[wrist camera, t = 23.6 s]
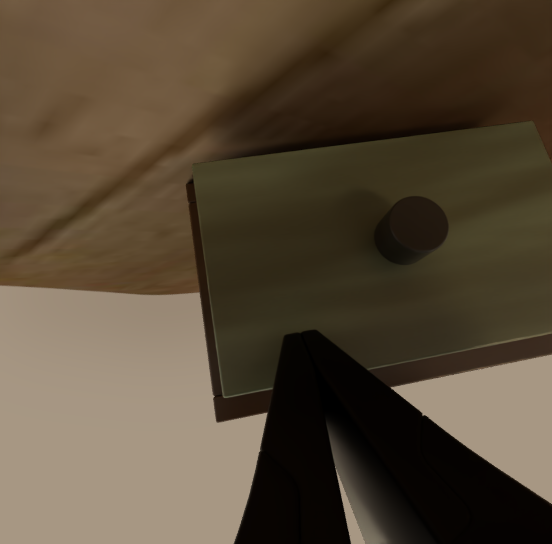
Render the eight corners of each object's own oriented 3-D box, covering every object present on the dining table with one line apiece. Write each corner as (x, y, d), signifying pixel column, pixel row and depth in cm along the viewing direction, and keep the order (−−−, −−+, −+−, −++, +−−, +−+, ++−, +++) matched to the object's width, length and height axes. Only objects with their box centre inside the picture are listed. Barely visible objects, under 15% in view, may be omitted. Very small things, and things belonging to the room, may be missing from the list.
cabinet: (185, 183, 13) (216, 423, 11) (489, 143, 14) (570, 351, 12) (220, 270, 25) (237, 390, 23) (381, 244, 26) (412, 356, 24)
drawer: (182, 137, 9) (218, 404, 7) (565, 91, 10) (672, 314, 8) (225, 267, 21) (242, 377, 20) (396, 239, 22) (425, 342, 21)
